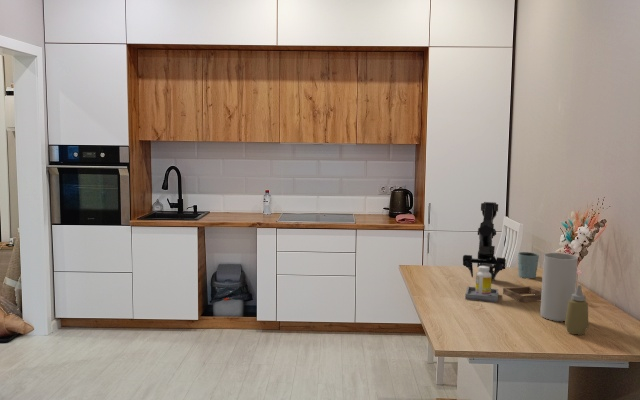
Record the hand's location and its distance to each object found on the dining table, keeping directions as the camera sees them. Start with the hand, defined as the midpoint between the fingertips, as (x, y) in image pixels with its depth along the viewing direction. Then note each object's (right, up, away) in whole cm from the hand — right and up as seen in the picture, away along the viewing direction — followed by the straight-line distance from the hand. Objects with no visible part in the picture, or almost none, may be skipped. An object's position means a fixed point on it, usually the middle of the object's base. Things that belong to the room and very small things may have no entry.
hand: (482, 277), depth 263 cm
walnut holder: (+20, -9, +2) cm, 22 cm away
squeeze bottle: (+22, -15, -45) cm, 52 cm away
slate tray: (0, -9, +1) cm, 9 cm away
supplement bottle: (0, -8, +1) cm, 8 cm away
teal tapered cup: (+34, -5, +40) cm, 53 cm away
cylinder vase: (+22, -13, -27) cm, 37 cm away
